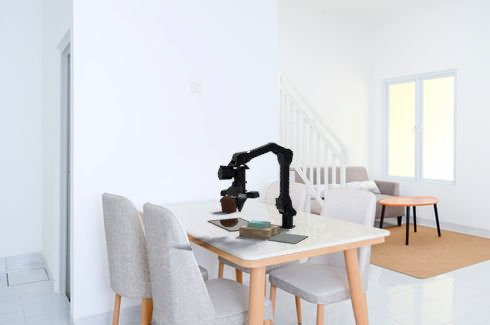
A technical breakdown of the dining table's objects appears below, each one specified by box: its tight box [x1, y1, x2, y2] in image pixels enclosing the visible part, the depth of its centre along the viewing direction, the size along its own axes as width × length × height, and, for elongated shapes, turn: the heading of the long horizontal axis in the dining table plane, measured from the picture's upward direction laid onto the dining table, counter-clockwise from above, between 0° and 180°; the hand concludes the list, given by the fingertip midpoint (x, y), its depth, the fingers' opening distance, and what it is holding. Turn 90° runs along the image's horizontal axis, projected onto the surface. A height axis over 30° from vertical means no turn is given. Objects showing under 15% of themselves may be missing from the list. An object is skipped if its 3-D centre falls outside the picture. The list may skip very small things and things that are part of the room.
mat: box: [266, 232, 309, 245], centre depth 189 cm, size 15×13×1 cm
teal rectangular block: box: [247, 219, 271, 228], centre depth 196 cm, size 6×9×2 cm, turn 60°
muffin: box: [219, 195, 238, 214], centre depth 258 cm, size 12×11×10 cm
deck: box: [238, 224, 281, 241], centre depth 196 cm, size 14×14×4 cm
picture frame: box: [207, 217, 250, 233], centre depth 220 cm, size 19×1×28 cm
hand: (239, 211), depth 201 cm, fingers closed
